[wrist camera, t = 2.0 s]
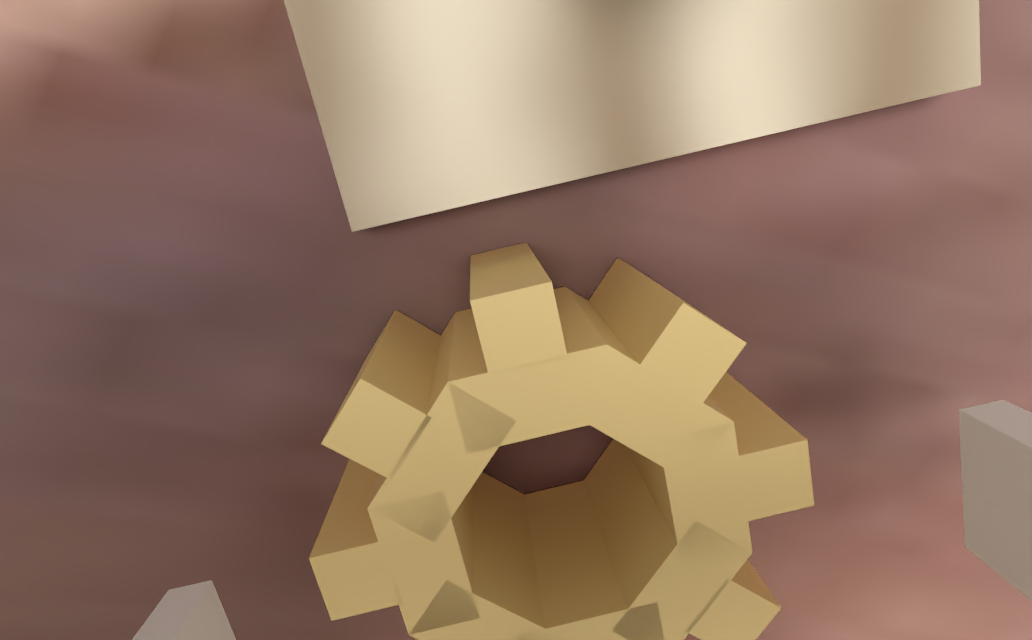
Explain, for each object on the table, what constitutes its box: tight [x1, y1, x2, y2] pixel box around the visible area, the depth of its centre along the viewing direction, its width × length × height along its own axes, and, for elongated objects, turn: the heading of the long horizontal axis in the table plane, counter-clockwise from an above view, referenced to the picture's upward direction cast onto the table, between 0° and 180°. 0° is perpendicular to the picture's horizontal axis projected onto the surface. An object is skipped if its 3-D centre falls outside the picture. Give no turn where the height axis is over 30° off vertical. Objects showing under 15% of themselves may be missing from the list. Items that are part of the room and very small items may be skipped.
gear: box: [309, 243, 814, 640], centre depth 14 cm, size 9×9×5 cm
